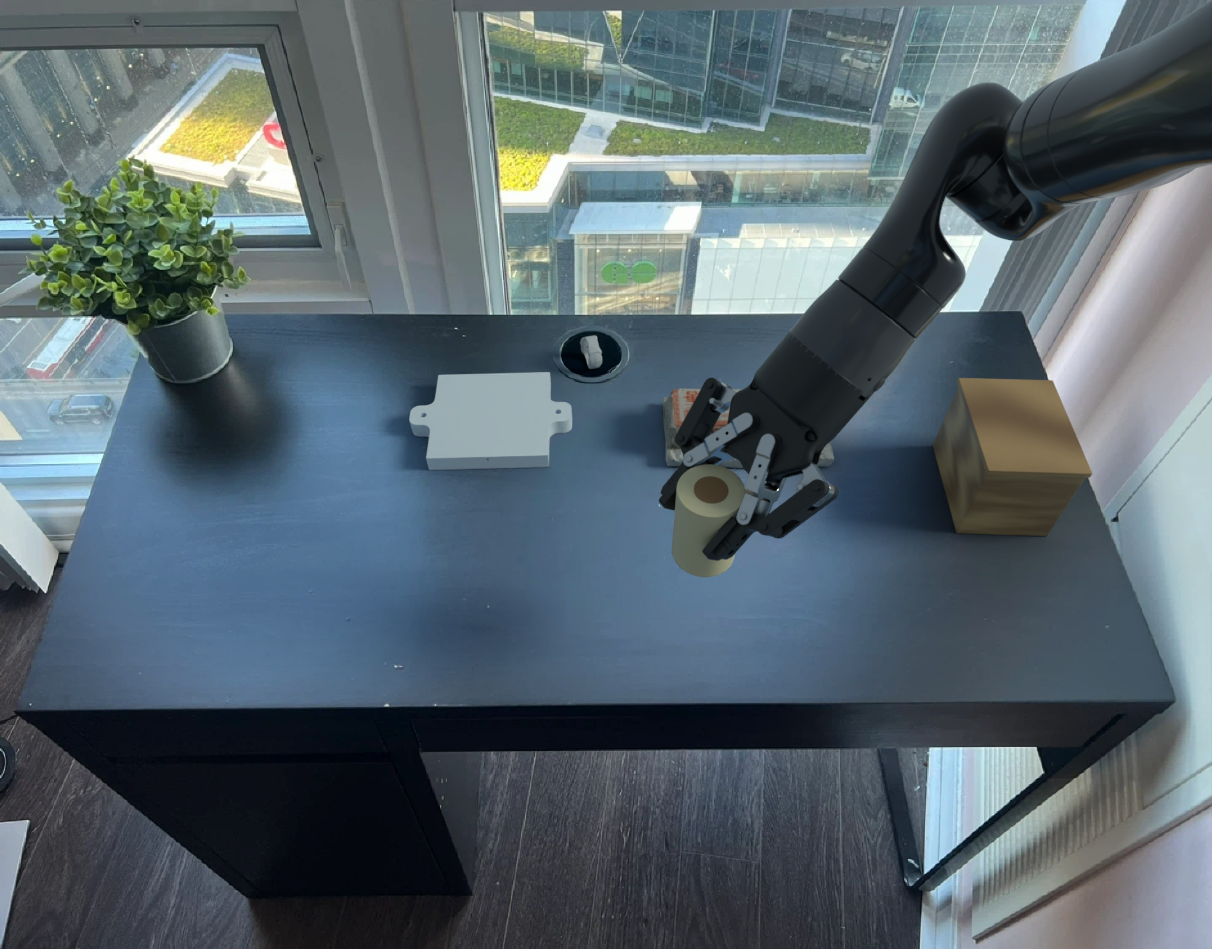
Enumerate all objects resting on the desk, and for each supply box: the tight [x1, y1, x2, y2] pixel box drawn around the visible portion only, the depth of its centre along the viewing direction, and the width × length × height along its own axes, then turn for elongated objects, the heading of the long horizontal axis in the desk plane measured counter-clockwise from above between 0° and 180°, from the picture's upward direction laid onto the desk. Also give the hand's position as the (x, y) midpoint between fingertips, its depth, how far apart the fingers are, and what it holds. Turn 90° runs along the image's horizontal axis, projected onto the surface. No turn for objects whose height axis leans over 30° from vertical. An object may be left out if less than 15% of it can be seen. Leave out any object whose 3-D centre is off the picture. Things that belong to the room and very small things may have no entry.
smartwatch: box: [579, 335, 603, 370], centre depth 100 cm, size 4×2×4 cm, turn 14°
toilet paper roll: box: [671, 464, 745, 578], centre depth 67 cm, size 5×5×8 cm
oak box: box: [932, 377, 1093, 537], centre depth 85 cm, size 12×9×10 cm
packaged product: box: [662, 387, 835, 469], centre depth 92 cm, size 18×5×10 cm
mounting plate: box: [408, 371, 573, 471], centre depth 94 cm, size 18×13×2 cm
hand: (688, 530), depth 66 cm, fingers closed on toilet paper roll, 5 cm apart
